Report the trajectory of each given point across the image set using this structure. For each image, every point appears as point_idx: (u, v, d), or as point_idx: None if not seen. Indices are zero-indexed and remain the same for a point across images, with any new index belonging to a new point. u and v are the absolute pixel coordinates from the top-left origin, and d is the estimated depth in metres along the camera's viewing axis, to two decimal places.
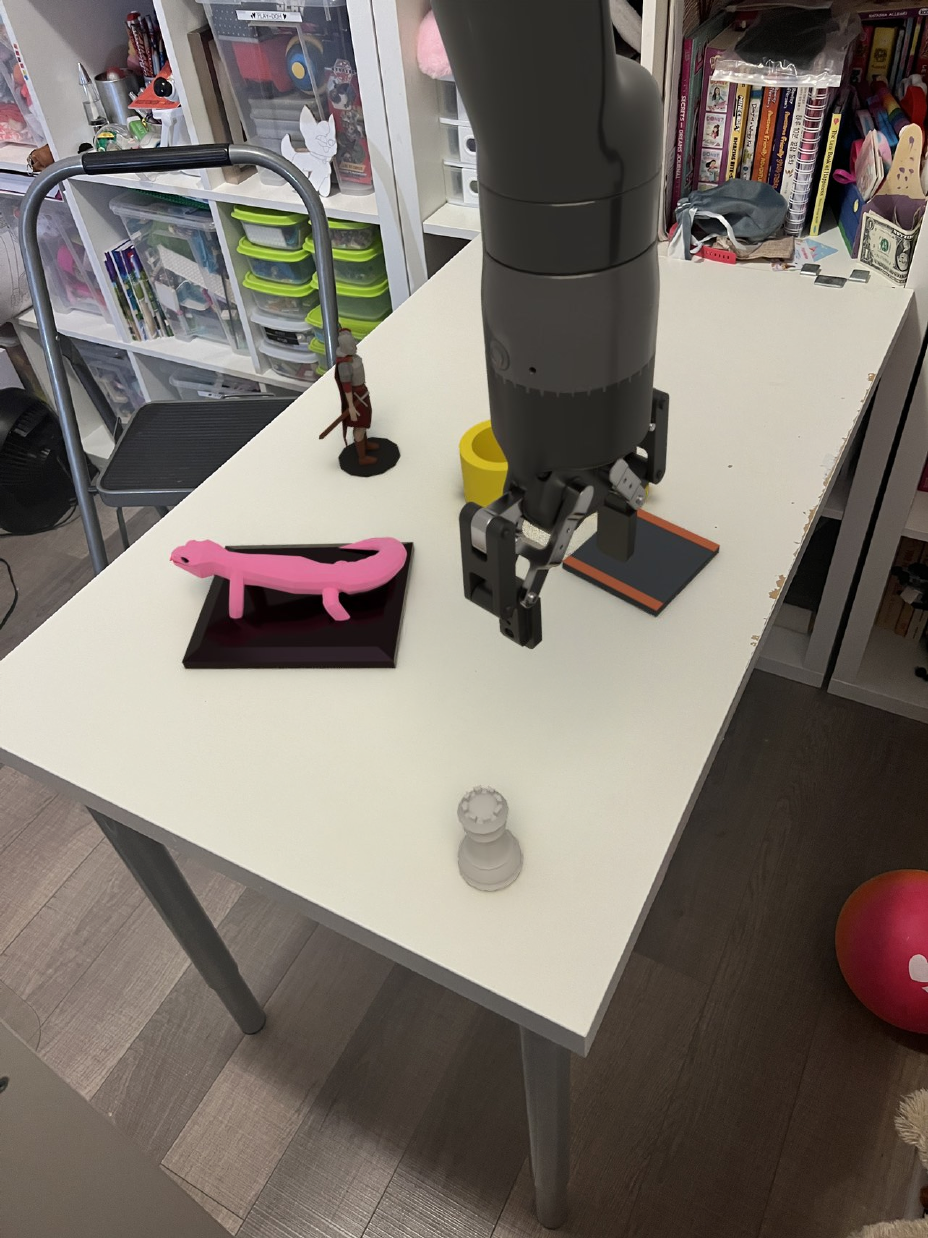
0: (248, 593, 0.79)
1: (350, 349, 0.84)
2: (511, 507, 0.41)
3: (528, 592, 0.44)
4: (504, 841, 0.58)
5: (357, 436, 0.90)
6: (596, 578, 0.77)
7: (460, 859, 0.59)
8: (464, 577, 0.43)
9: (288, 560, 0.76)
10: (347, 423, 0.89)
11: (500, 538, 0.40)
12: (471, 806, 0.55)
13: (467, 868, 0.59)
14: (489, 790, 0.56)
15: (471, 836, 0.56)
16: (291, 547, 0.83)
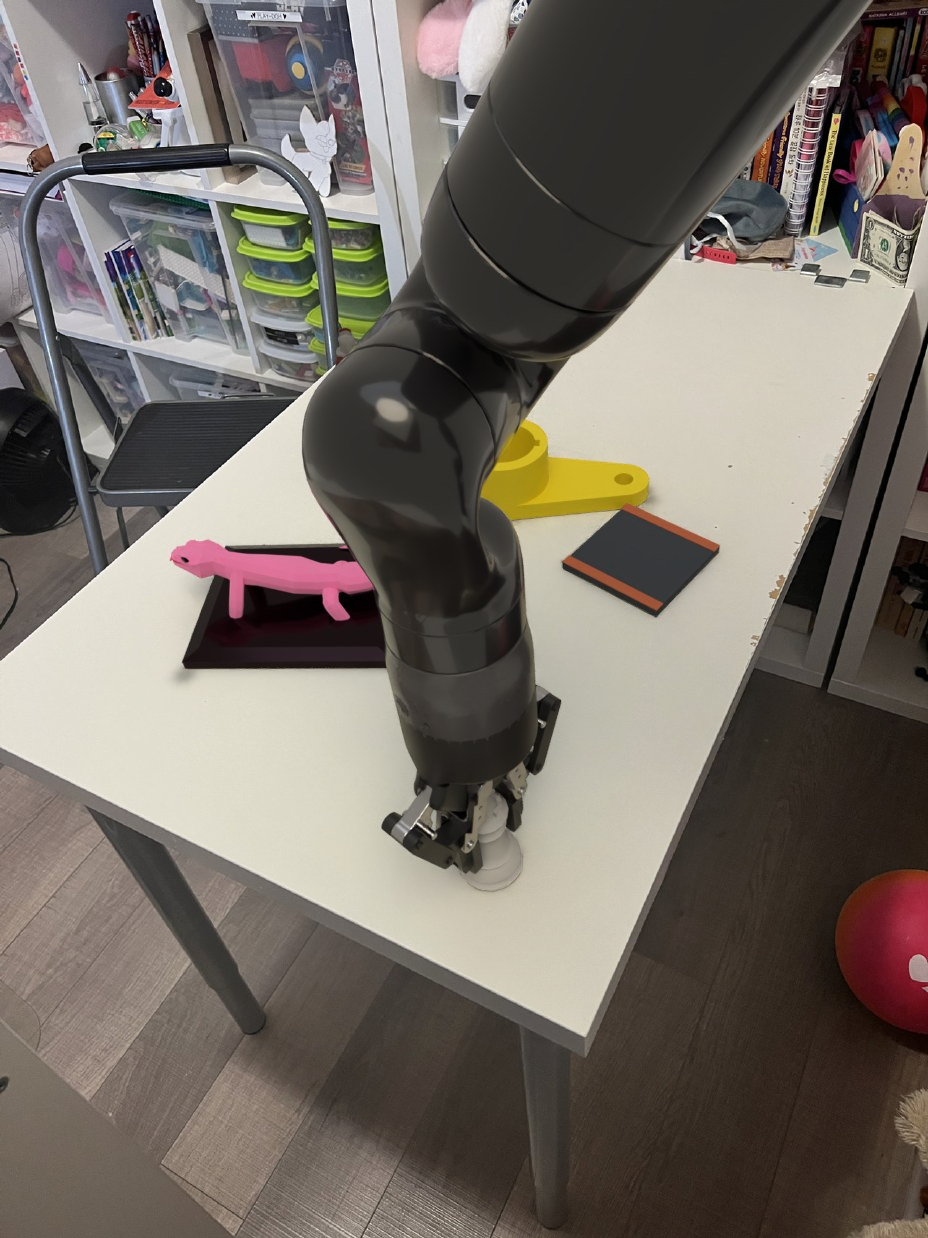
0: (248, 593, 0.79)
1: (350, 349, 0.84)
2: (420, 817, 0.49)
3: (465, 847, 0.53)
4: (504, 841, 0.58)
5: None
6: (596, 578, 0.77)
7: None
8: None
9: (288, 560, 0.76)
10: None
11: (415, 851, 0.48)
12: None
13: None
14: None
15: None
16: (291, 547, 0.83)
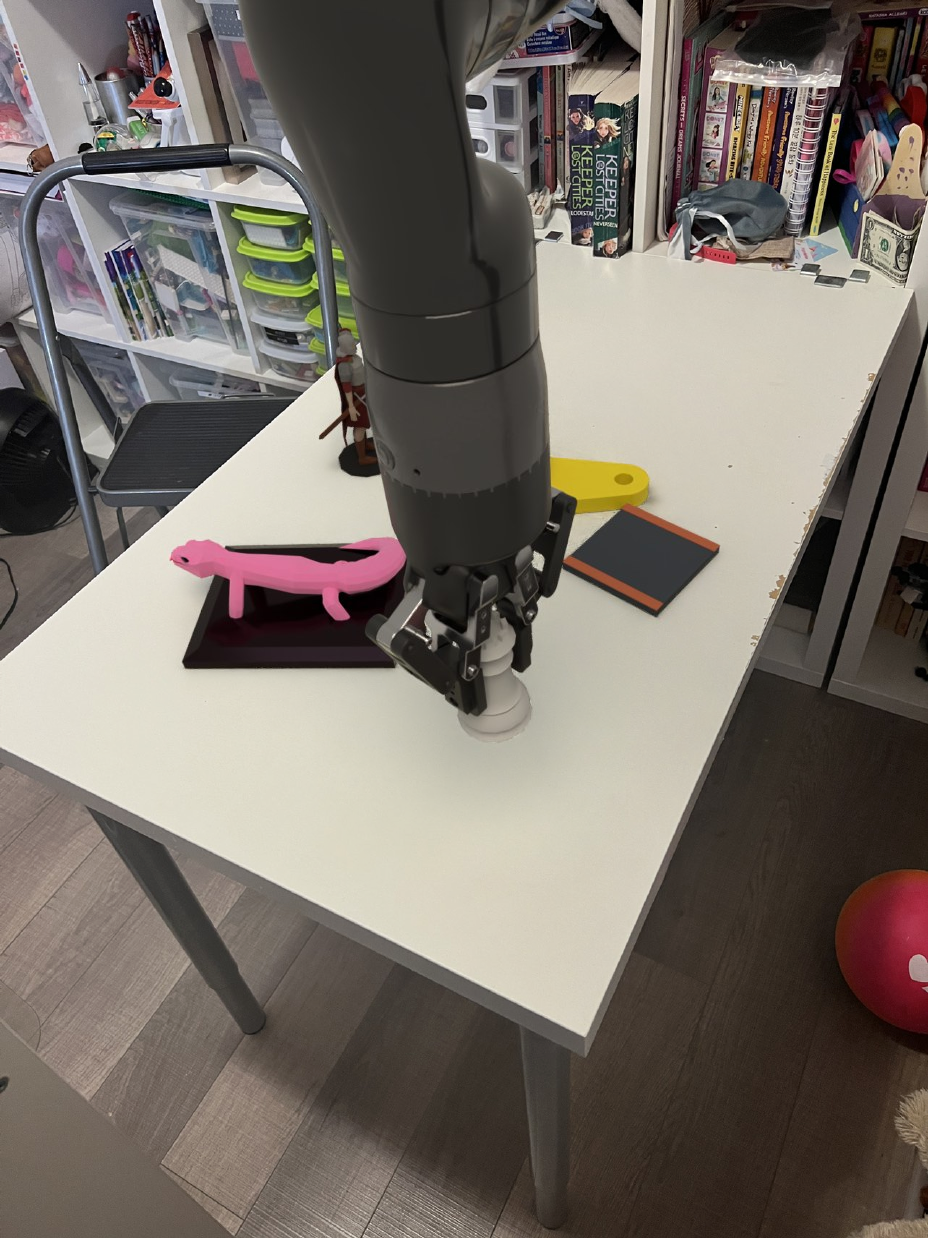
0: (248, 593, 0.79)
1: (350, 349, 0.84)
2: (411, 616, 0.40)
3: (466, 671, 0.45)
4: (511, 680, 0.49)
5: (357, 436, 0.90)
6: (596, 578, 0.77)
7: None
8: (399, 664, 0.44)
9: (288, 560, 0.76)
10: (347, 423, 0.89)
11: (405, 655, 0.40)
12: None
13: (468, 716, 0.50)
14: (492, 614, 0.47)
15: None
16: (291, 547, 0.83)
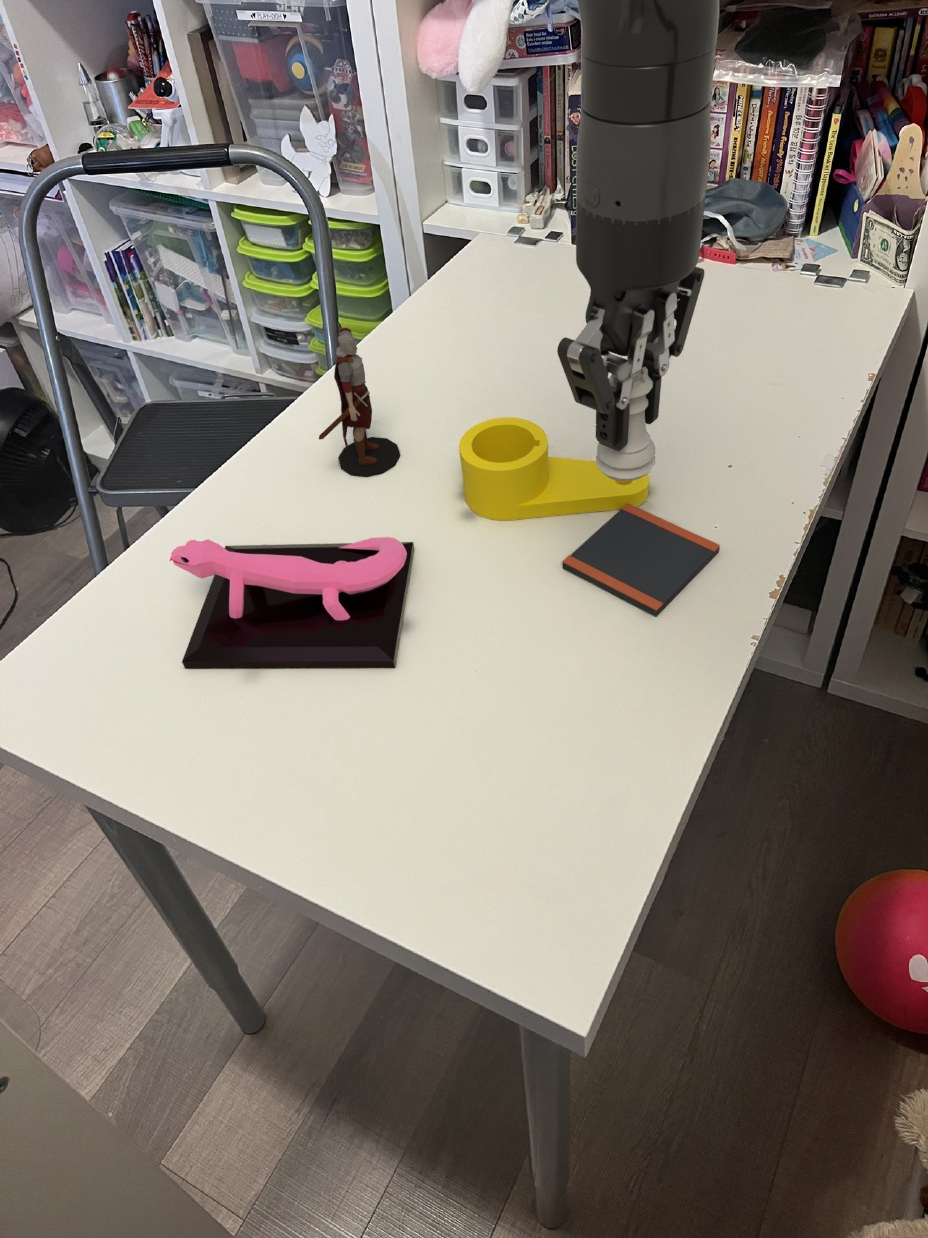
0: (248, 593, 0.79)
1: (350, 349, 0.84)
2: (594, 335, 0.54)
3: (621, 398, 0.59)
4: (644, 424, 0.63)
5: (357, 436, 0.90)
6: (596, 578, 0.77)
7: (600, 452, 0.65)
8: (572, 389, 0.58)
9: (288, 560, 0.76)
10: (347, 423, 0.89)
11: (590, 363, 0.54)
12: None
13: (608, 457, 0.64)
14: None
15: None
16: (291, 547, 0.83)
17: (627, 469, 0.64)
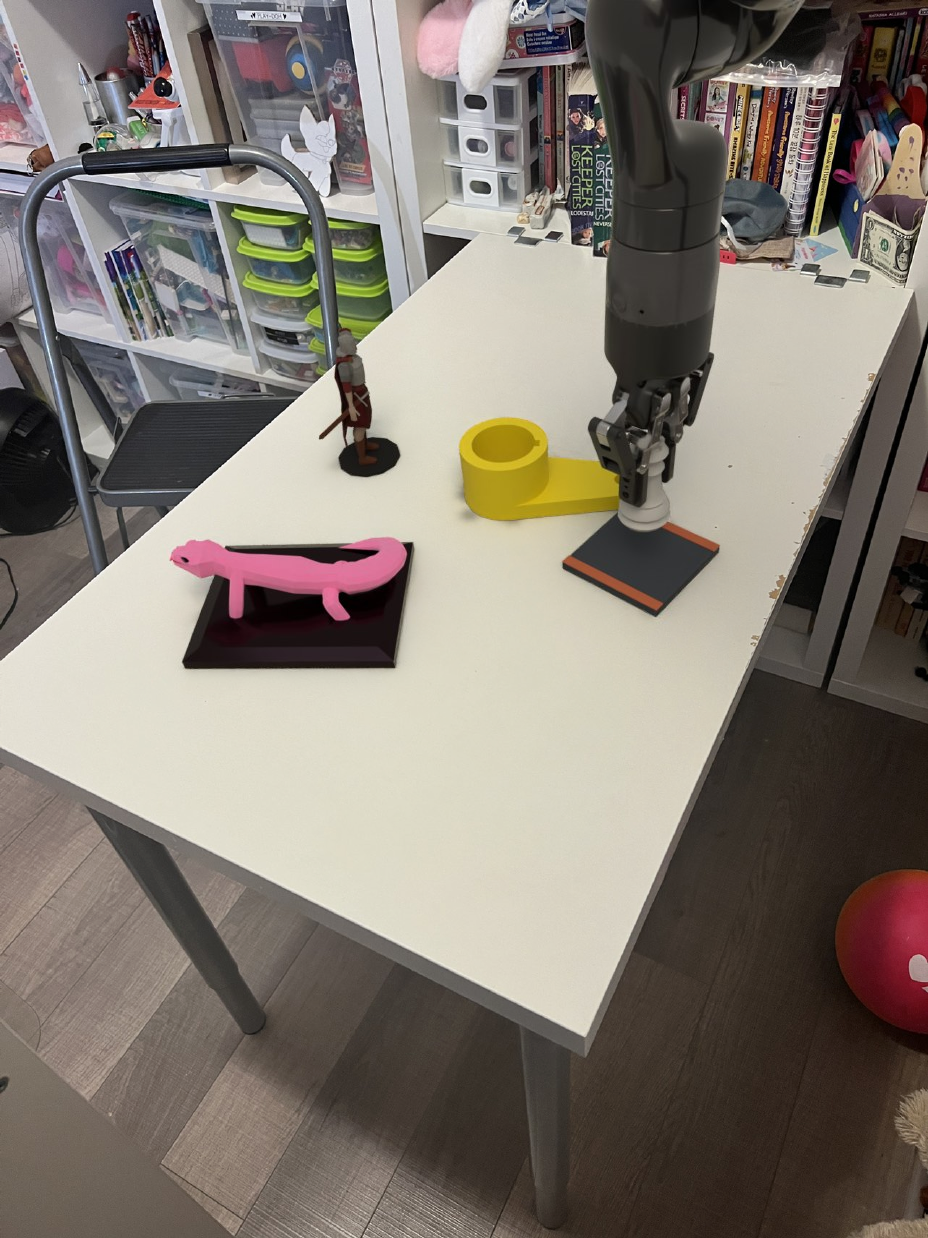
0: (248, 593, 0.79)
1: (350, 349, 0.84)
2: (619, 415, 0.64)
3: (641, 465, 0.68)
4: (661, 483, 0.73)
5: (357, 436, 0.90)
6: (596, 578, 0.77)
7: (622, 507, 0.74)
8: (599, 458, 0.67)
9: (288, 560, 0.76)
10: (347, 423, 0.89)
11: (616, 439, 0.63)
12: None
13: (629, 511, 0.74)
14: None
15: None
16: (291, 547, 0.83)
17: (645, 522, 0.74)
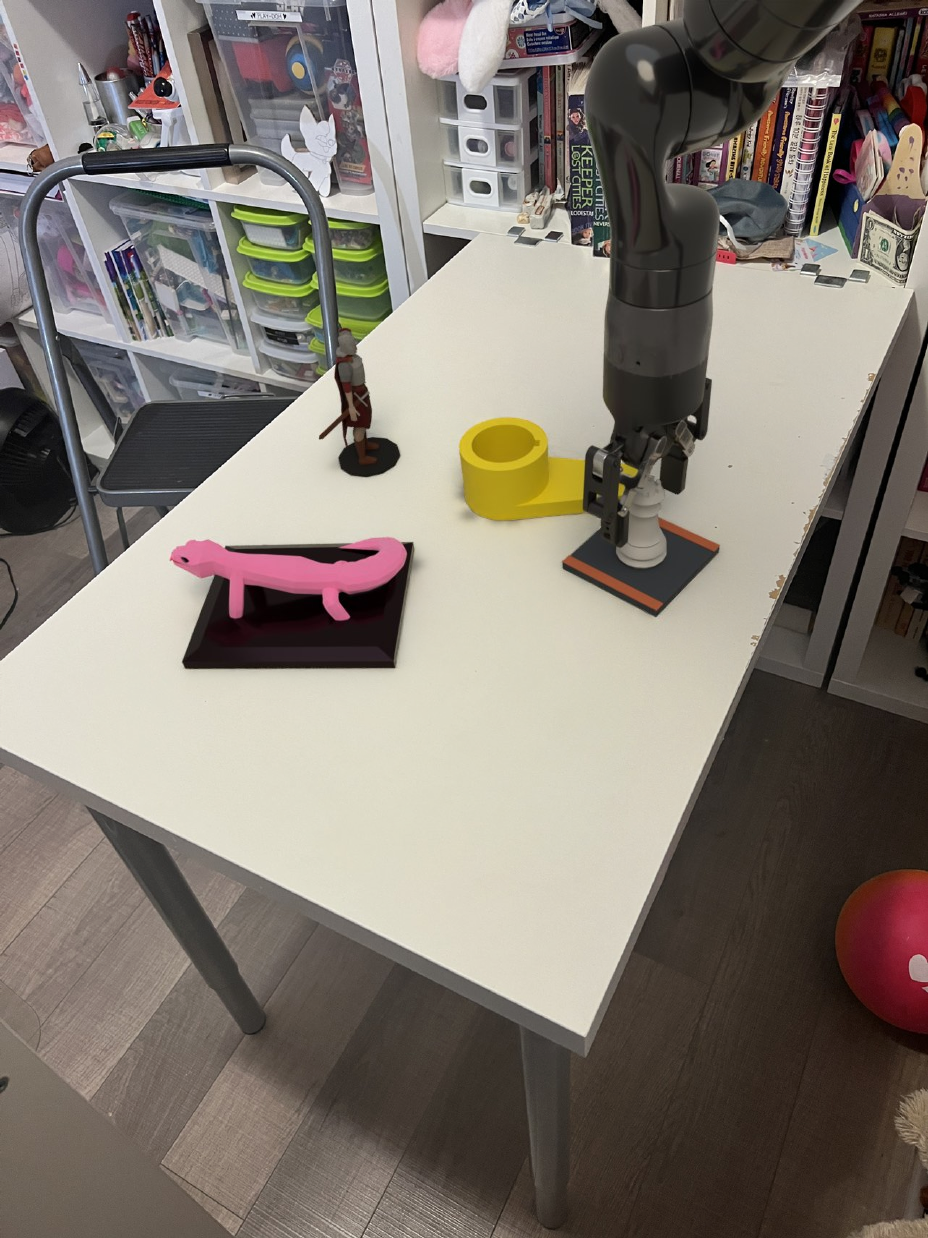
0: (248, 593, 0.79)
1: (350, 349, 0.84)
2: (618, 448, 0.66)
3: (623, 505, 0.69)
4: (658, 523, 0.76)
5: (357, 436, 0.90)
6: (596, 578, 0.77)
7: None
8: (584, 495, 0.68)
9: (288, 560, 0.76)
10: (347, 423, 0.89)
11: (612, 466, 0.65)
12: None
13: (627, 549, 0.77)
14: (650, 477, 0.74)
15: (635, 514, 0.74)
16: (291, 547, 0.83)
17: (643, 560, 0.77)
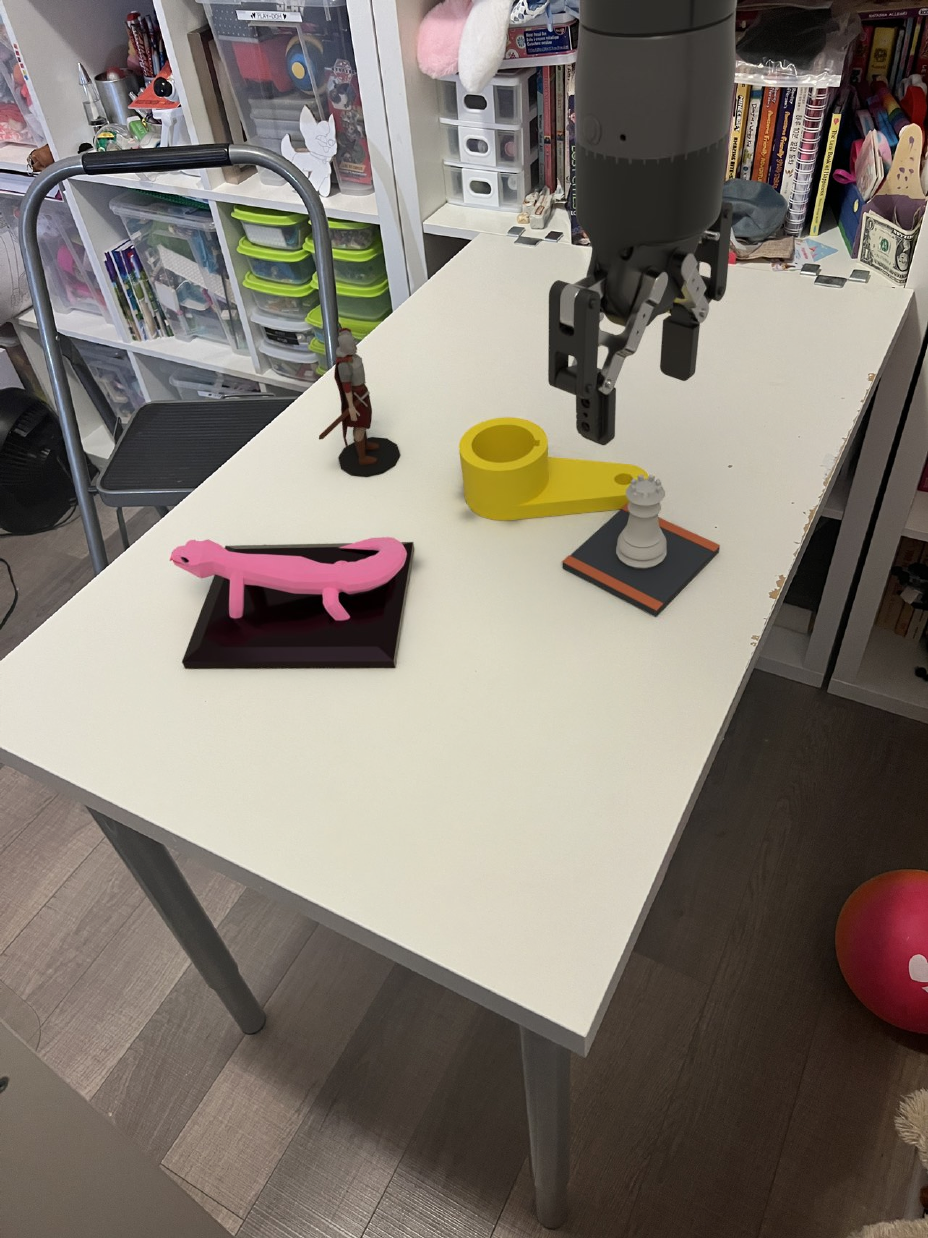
0: (248, 593, 0.79)
1: (350, 349, 0.84)
2: (596, 284, 0.45)
3: (606, 376, 0.49)
4: (658, 523, 0.76)
5: (357, 436, 0.90)
6: (596, 578, 0.77)
7: (620, 545, 0.78)
8: (549, 359, 0.48)
9: (288, 560, 0.76)
10: (347, 423, 0.89)
11: (587, 306, 0.45)
12: (638, 487, 0.73)
13: (627, 549, 0.77)
14: (650, 477, 0.74)
15: (635, 514, 0.74)
16: (291, 547, 0.83)
17: (643, 560, 0.77)
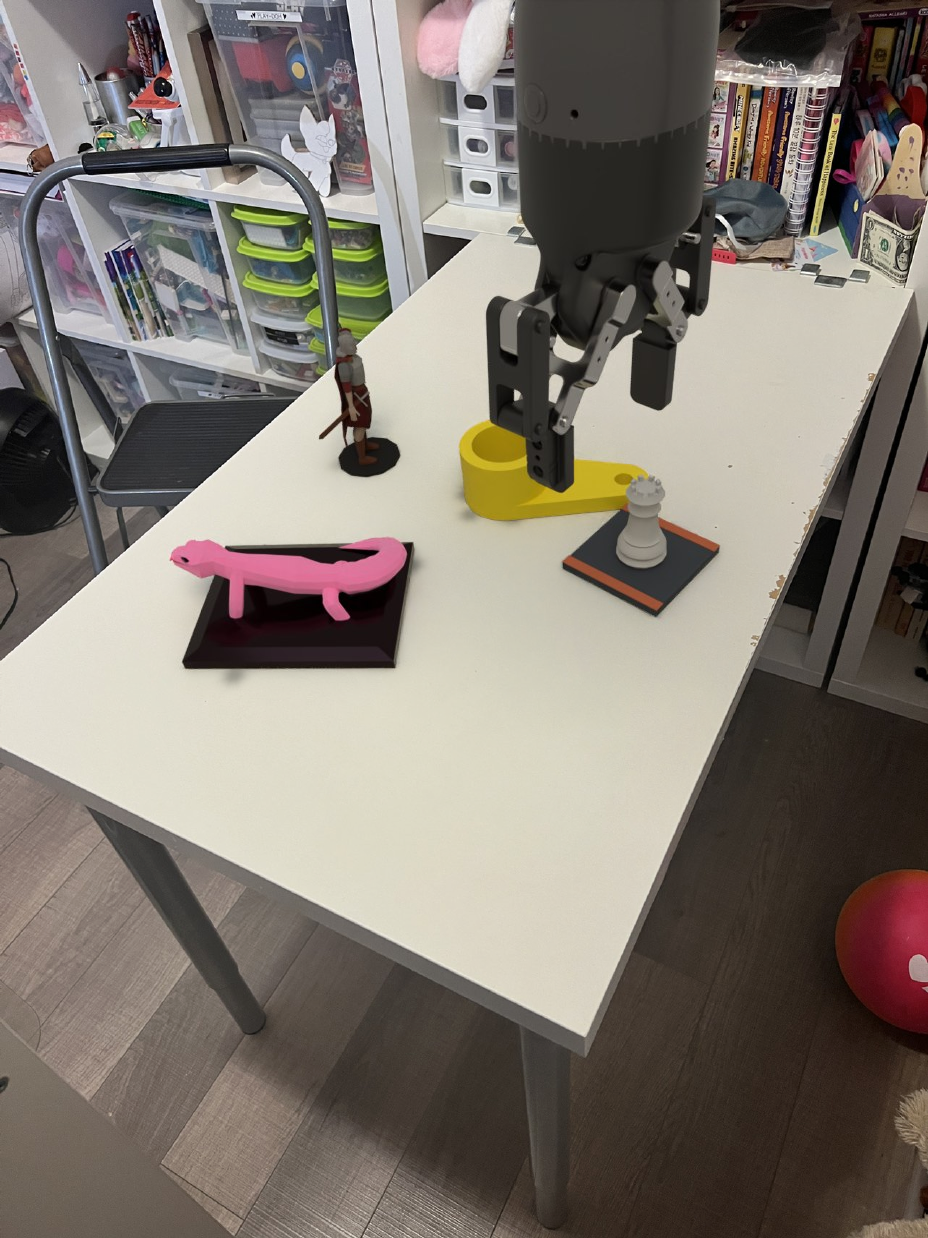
0: (248, 593, 0.79)
1: (350, 349, 0.84)
2: (545, 301, 0.36)
3: (561, 413, 0.39)
4: (658, 523, 0.76)
5: (357, 436, 0.90)
6: (596, 578, 0.77)
7: (620, 545, 0.78)
8: (490, 393, 0.39)
9: (288, 560, 0.76)
10: (347, 423, 0.89)
11: (533, 330, 0.35)
12: (638, 487, 0.73)
13: (627, 549, 0.77)
14: (650, 477, 0.74)
15: (635, 514, 0.74)
16: (291, 547, 0.83)
17: (643, 560, 0.77)
